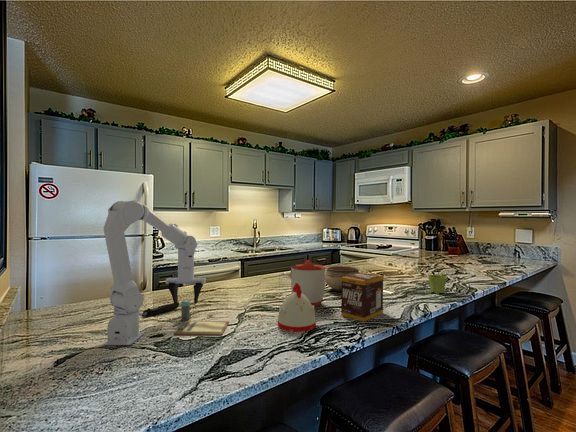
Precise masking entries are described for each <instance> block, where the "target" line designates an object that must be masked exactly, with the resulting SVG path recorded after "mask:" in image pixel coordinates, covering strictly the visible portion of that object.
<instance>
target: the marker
mask: <svg viewBox="0 0 576 432" xmlns="http://www.w3.org/2000/svg"><path fill="white" fill-rule="evenodd" d="M180 304H181V305H180V309H181V311H180V313H181V314H180V315H181V316H180V317H181V319H180V320H181V322H185V321H191V320H190V318H191V311H190V310H191V301H190V300H187V299H185V300H182V301H181V303H180Z"/></svg>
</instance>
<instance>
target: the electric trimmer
mask: <svg viewBox="0 0 576 432" xmlns="http://www.w3.org/2000/svg"><path fill="white" fill-rule="evenodd" d="M179 306H180V302H179V301H178V302H177V303H176V304H174V302H172V303H167V304H163V305H160V306H157V307H154V308H153V307H152V308H150V307H149V308H147V309H144V311H143V312H142V315H141V316H142V317H143V318H149V317H151V316H154V315H157V314H161V313H167V312H169V311H172V310H176V309H178V308H179Z"/></svg>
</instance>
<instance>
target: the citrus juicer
mask: <svg viewBox="0 0 576 432" xmlns="http://www.w3.org/2000/svg"><path fill="white" fill-rule="evenodd" d="M325 274H326V266H324V265H321V264H313V262H312V261H311V260H310V259H307V260H305V262H304V263H301V264H300V263H299V264H298V263H297V264H295V266H294V267H292V266H291V267H290V273H288V274H287V278H290V282H291V284H290V285H291V288H290V289H291V294H292V293H293V288H294V285H295V283H298V284H299V286H300V289H301V290H302V292H301V293H302V294H304V295H305V296H306V297H307V298H308V300H309V301H310V303H311V305H312V306H314V308H316V307H319V306H321V305H322V302H323V298H324V295H325V286H326V281H325Z"/></svg>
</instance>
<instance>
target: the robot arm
mask: <svg viewBox="0 0 576 432" xmlns="http://www.w3.org/2000/svg"><path fill="white" fill-rule="evenodd" d="M138 221H143V222H144V223H146V224H148V225H150V226H151V227H153V229H154V228H155V229H156V230H157V231H159V232H161V233H160V235H161V237H162V238H164V239H166V240H167V241H168V242H170V243H171V244H172V245H174V247H175V249H177V277H167V278H166V279H165V284H166V285H167V289H168V291H169V292H170V294H171V297H172V301H173V303H174V304H176V303H177V302H179V301H178V299H179V298H178V297H179V295H178V292H179V285H180V284H181V285H182V284H183V285H185V284H186V285H187V284H191V285H193V286H192V287H193V292H194V293H193V295H194V297H193V298H194V299H193V303H194V304H195V305H196V304H197V303H198V302H199V297H200V293H201V291H202V288H203V286H204V285H205V284H206V283H207V281H206V279H207V278H206V277H195V272H194V271H195V268H194V267H195V260H194V259H195V258H194V257H195V252H196V251H195V250H196V248H197V247H198V241H197V240H196V238H195V237H194V236H193V235H188V233H187V231H186V230H185V231H183V229H180V228H179V225H178V224H176V223H166V222H165V221H164V220H163V219H162V218H160V217H159V216H158V215H157V214H155V213H154V211H152V210H150V208H149V207H148V206H147V205H145V204H142V202H140V201H138V200H128V201H127V200H125V201H123V200H118V201H115V202H114V203H113V204H112V205H110V207H109V208H107V216H106V220H105V222H104V225H103V233H104V239H105V243H106V244H105V245H106V249H107V254H108V258H109V263H110V269H111V274H112V279H113V284H112V286H111V288H110V289H111V294H110V298H109V302H110V304H111V305H112V306H113V316H112V318H111V319H109V320H108V323H107V340H106V342H104V346H130V345H133V344H134V343H135V342H136V341H137V340H138V339H140V338H141V337H142V336H143V335H144V334H145V332H144V331H140V310H141V307H142V306H143V305H144V296H143V294H142V293H141V292H140V290H139V286H138V285H137V283H136V282H135V281H134V278H133V272H132V266H131V261H130V257H129V251H128V246H127V241H126V234H125V232H126V231H127V229H129V227H130V226H131V225H133V224H134V223H136V222H138Z"/></svg>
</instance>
